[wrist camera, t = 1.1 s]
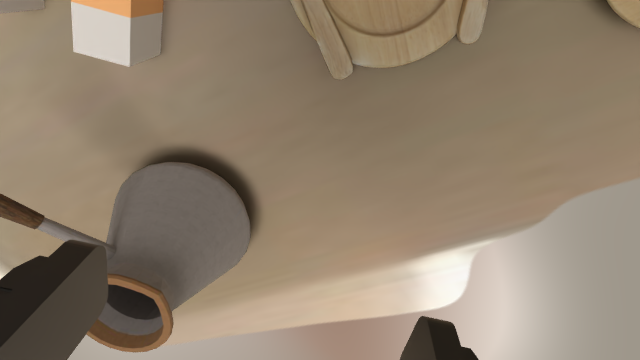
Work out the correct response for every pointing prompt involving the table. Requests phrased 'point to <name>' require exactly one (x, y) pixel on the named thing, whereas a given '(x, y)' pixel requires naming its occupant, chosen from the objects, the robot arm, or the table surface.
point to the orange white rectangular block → (117, 29)
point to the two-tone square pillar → (20, 5)
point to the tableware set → (399, 28)
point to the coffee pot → (157, 248)
